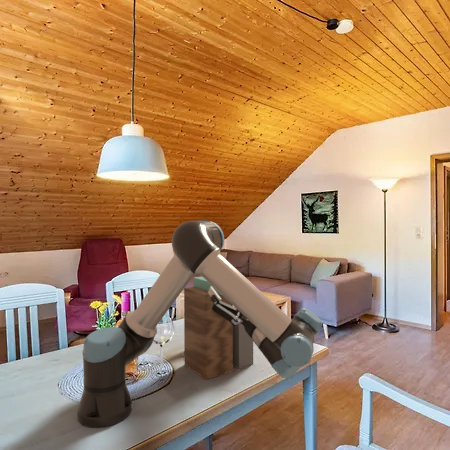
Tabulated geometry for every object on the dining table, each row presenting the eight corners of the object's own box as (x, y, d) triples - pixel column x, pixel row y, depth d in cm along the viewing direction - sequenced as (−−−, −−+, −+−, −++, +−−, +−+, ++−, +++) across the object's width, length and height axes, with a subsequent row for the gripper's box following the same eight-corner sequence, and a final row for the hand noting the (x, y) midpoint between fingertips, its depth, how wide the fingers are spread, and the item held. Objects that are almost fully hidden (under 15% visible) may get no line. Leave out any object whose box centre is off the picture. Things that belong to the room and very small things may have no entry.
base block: (239, 368, 133) (239, 315, 132) (220, 358, 143) (220, 309, 142) (253, 364, 137) (253, 312, 137) (234, 354, 147) (234, 306, 146)
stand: (205, 379, 124) (205, 294, 123) (184, 365, 136) (184, 287, 136) (232, 370, 131) (232, 290, 130) (210, 357, 143) (210, 284, 143)
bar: (230, 298, 119) (230, 287, 119) (193, 286, 138) (193, 277, 138) (238, 296, 121) (238, 286, 121) (201, 285, 140) (201, 276, 140)
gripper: (224, 348, 104) (192, 300, 118) (285, 332, 118) (249, 290, 133) (232, 330, 100) (198, 282, 115) (293, 315, 115) (256, 275, 130)
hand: (225, 287), depth 124 cm, fingers open, 13 cm apart
